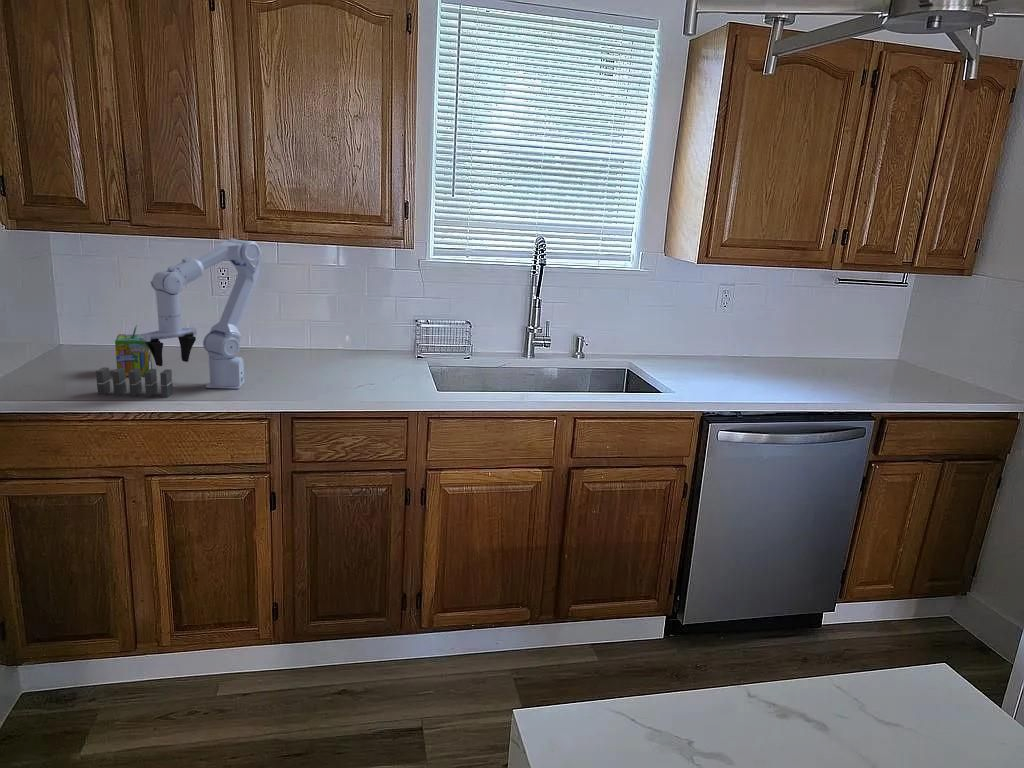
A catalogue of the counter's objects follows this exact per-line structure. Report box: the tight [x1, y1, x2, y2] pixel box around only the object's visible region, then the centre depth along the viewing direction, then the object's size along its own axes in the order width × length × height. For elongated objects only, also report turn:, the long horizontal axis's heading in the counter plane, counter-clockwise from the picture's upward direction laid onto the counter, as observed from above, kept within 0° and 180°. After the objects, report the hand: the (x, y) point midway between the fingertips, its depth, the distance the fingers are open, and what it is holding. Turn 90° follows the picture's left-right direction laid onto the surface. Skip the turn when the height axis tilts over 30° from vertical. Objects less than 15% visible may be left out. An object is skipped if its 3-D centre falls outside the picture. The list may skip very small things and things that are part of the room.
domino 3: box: [128, 368, 143, 398], centre depth 203 cm, size 2×4×7 cm, turn 7°
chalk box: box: [114, 325, 153, 377], centre depth 223 cm, size 9×9×15 cm
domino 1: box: [95, 367, 112, 396], centre depth 202 cm, size 2×4×7 cm, turn 7°
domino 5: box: [159, 368, 174, 399], centre depth 204 cm, size 2×4×7 cm, turn 7°
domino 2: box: [111, 368, 127, 397], centre depth 202 cm, size 2×4×7 cm, turn 7°
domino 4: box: [144, 368, 159, 398], centre depth 203 cm, size 2×4×7 cm, turn 7°
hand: (172, 363), depth 203 cm, fingers open, 7 cm apart
